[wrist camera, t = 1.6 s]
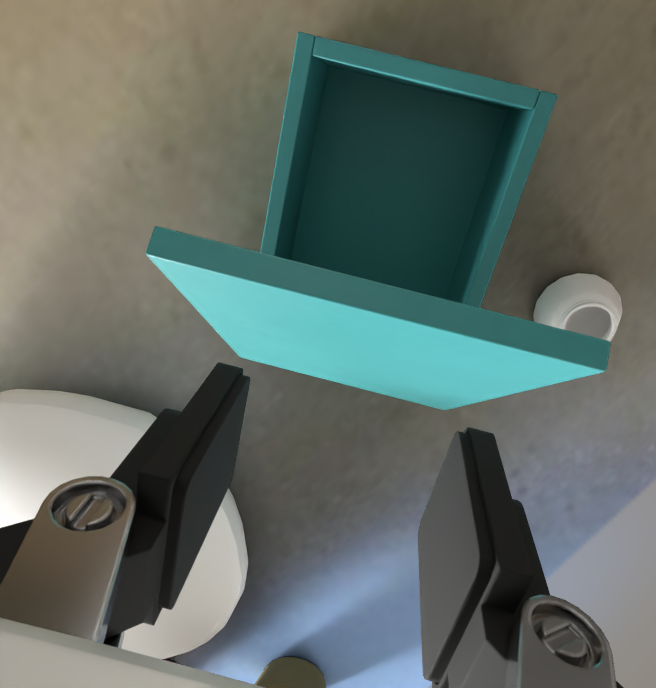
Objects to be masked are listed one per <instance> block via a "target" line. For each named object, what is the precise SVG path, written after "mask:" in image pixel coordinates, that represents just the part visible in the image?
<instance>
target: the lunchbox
mask: <svg viewBox="0 0 656 688" xmlns="http://www.w3.org/2000/svg"><path fill="white" fill-rule="evenodd" d="M557 97H558V96H557V94H554V93H550V92H546V91H539V90H538V89H534V88H530V87H525V86H521V85H517V84H513V83H509V82H505V81H501V80H497V79H492V78H488V77H484V76H480V75H476V74H472V73H468V72H464V71H459V70H455V69H451V68H447V67H443V66H439V65H435V64H431V63H426V62H422V61H418V60H414V59H410V58H406V57H402V56H398V55H393V54H389V53H385V52H381V51H377V50H373V49H369V48H365V47H360V46H356V45H352V44H348V43H344V42H340V41H336V40H332V39H327V38H323V37H319V36H314V35H311V34H307V33H303V32H298V34H297V40H296V45H295V51H294V57H293V63H292V69H291V75H290V80H289V86H288V92H287V98H286V104H285V110H284V116H283V121H282V127H281V133H280V139H279V145H278V151H277V157H276V162H275V168H274V174H273V180H272V186H271V192H270V198H269V203H268V209H267V215H266V221H265V227H264V233H263V239H262V244H261V250H260V252H261V253H265V254H269V255H273V256H277V257H280V258H284V259H288V260H292V261H296V262H300V263H304V264H308V265H312V266H316V267H320V268H324V269H328V270H332V271H336V272H340V273H344V274H347V275H351V276H355V277H359V278H363V279H367V280H371V281H375V282H379V283H383V284H387V285H391V286H395V287H399V288H403V289H407V290H410V291H414V292H418V293H422V294H426V295H430V296H434V297H438V298H442V299H446V300H450V301H454V302H458V303H462V304H466V305H470V306H474V307H477V308H480V306H481V303H482V301H483V298H484V295H485V292H486V290H487V287H488V284H489V282H490V279H491V276H492V273H493V271H494V268H495V265H496V263H497V260H498V257H499V254H500V252H501V249H502V246H503V244H504V241H505V238H506V235H507V233H508V230H509V227H510V225H511V222H512V219H513V216H514V214H515V211H516V208H517V206H518V203H519V200H520V197H521V195H522V192H523V189H524V186H525V184H526V181H527V178H528V176H529V173H530V170H531V167H532V165H533V162H534V159H535V157H536V154H537V151H538V148H539V146H540V143H541V140H542V138H543V135H544V132H545V129H546V127H547V124H548V121H549V119H550V116H551V113H552V110H553V108H554V105H555V102H556V100H557Z"/></svg>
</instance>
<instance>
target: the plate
mask: <svg viewBox="0 0 656 688" xmlns="http://www.w3.org/2000/svg"><path fill="white" fill-rule="evenodd" d="M156 418H157V417H155V416H154V415H152V414H151V413H149V412H146V411H142V410H139V409H135V408H132V407H128V406H124V405H121V404H117V403H113V402H110V401H106V400H103V399H99V398H95V397H92V396H87V395H81V394H75V393H69V392H62V391H53V390H29V389H13V390H8V391H3V392H0V528H2V527H5V526H9V525H13V524H16V523H20V522H23V521H27V520H31V519H34V518H35V516H36V514H37V512H38V510H39V508H40V506H41V504H42V502H43V501H44V500H45V498H46V497H47V496H48V494H49V493H50V492H51V491H52V490H54V489H55V488H57V487H58V486H59V485H61V484H63V483H66V482H68V481H70V480H73V479H77V478H82V477H87V476H103V477H108V478H110V476H111V475H112V474H113V473H114V471H115V470H116V469H117V468H118V466H119V465H120V464H121V462H122V461H123V460H124V459H125V457H126V456H127V455H128V454H129V452H130V451H131V450H132V449H133V447H134V446H135V445H136V444H137V442H138V441H139V440H140V439H141V437H142V436H143V435H144V434H145V432H146V431H147V430H148V429H149V427H150V426H151V425H152V424H153V422H154V421H155V420H156ZM247 568H248V555H247V549H246V543H245V536H244V530H243V523H242V520H241V517H240V515H239V512H238V509H237V506H236V503H235V500H234V497H233V496H232V494H231V492H230V490H229V488H228V490H227V492H226V494H225V496H224V499H223V501H222V503H221V505H220V507H219V510H218V512H217V514H216V516H215V518H214V520H213V523H212V525H211V527H210V529H209V531H208V533H207V536H206V538H205V540H204V542H203V544H202V547H201V549H200V551H199V553H198V555H197V557H196V560H195V562H194V564H193V566H192V568H191V570H190V573H189V575H188V577H187V579H186V581H185V584H184V586H183V588H182V590H181V592H180V594H179V597H178V599H177V601H176V603H175V605H174V607H173V608H172V610H169V609H165V608H162V610H161V612H160V614H159V616H158V618H157V621H156V623H155V625H154V626H153V625H149V624H145V623H142V624H139V625H137V626H135V627H132V628H130V629H128V630H126V631H125V633H124V638H123V643H122V647H121V649H124V650H128V651H132V652H135V653H139V654H143V655H146V656H150V657H154V658H158V659H161V660H162V659H165V658H169V657H172V656H176V655H179V654H182V653H186V652H189V651H191V650H193V649H195V648H197V647H199V646H201V645H202V644H204V643H206V642H208V641H209V640H210V639H212V638H213V637H214V636H215V635H216V634H217V633H218V632H219V631H220V630H221V629H222V628H223V627H224V626H225V625H226V623H227V622H228V620H229V618H230V616H231V614H232V612H233V610H234V609H235V607H236V605H237V603H238V601H239V599H240V597H241V595H242V593H243V591H244V587H245V582H246V575H247Z"/></svg>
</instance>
